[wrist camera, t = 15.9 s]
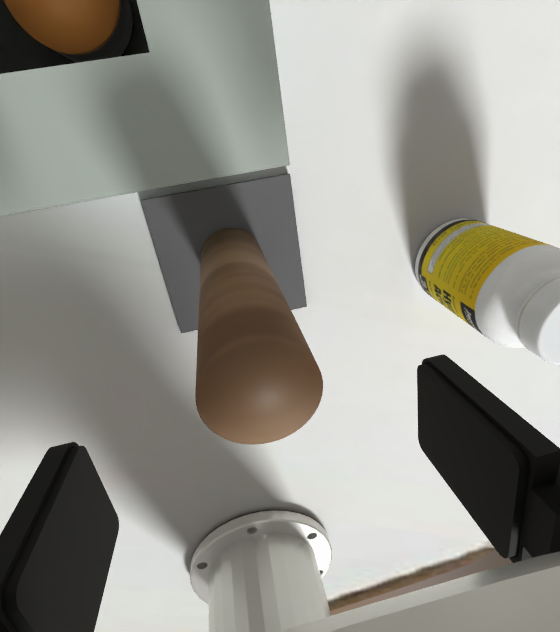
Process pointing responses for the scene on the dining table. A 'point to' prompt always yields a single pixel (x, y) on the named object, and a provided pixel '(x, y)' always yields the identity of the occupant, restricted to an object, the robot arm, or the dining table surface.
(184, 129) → the grey square block
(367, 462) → the dining table surface
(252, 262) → the dowel
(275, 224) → the pad
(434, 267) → the supplement bottle
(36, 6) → the orange dome button
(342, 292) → the dining table surface
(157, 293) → the dining table surface
